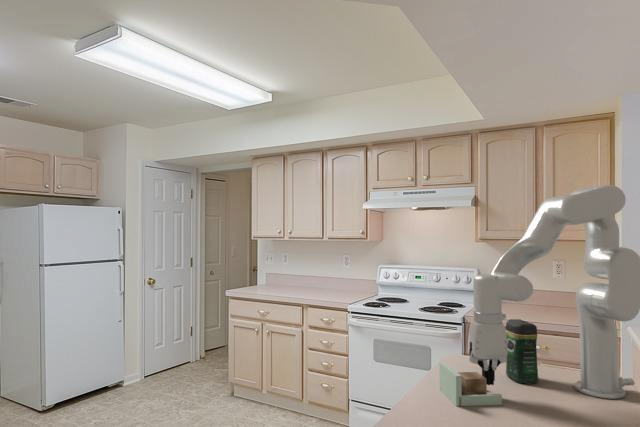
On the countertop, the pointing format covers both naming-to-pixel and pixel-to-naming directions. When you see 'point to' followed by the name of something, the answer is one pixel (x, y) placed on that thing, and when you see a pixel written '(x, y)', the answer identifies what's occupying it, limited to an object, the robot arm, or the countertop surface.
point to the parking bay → (453, 390)
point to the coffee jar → (521, 351)
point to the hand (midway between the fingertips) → (488, 383)
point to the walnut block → (473, 383)
